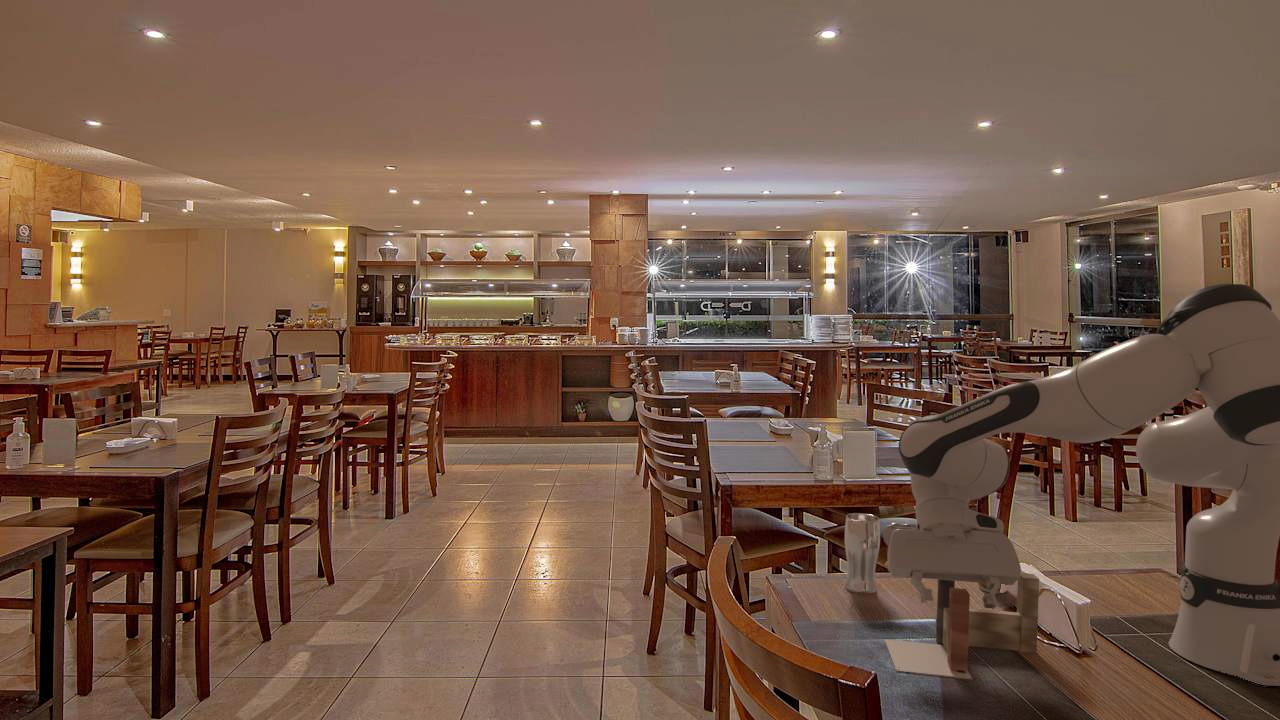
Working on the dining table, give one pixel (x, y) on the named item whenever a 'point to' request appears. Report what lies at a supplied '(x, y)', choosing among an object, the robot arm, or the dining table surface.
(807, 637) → the dining table surface
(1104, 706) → the dining table surface
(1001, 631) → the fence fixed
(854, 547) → the beer glass
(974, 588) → the dining table surface
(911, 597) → the dining table surface
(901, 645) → the card
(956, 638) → the fence gate
